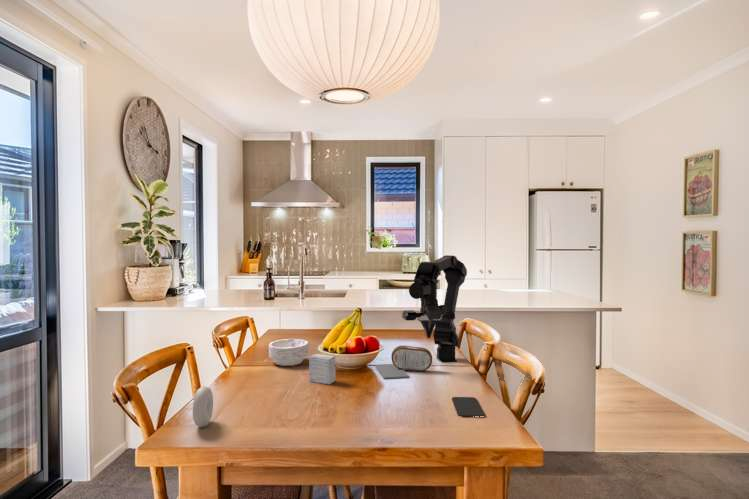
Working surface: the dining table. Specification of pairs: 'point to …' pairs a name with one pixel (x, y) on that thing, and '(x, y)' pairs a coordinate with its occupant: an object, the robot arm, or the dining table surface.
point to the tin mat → (391, 371)
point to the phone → (467, 406)
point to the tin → (411, 358)
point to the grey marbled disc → (203, 406)
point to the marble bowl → (288, 351)
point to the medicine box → (322, 368)
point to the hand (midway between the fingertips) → (428, 338)
